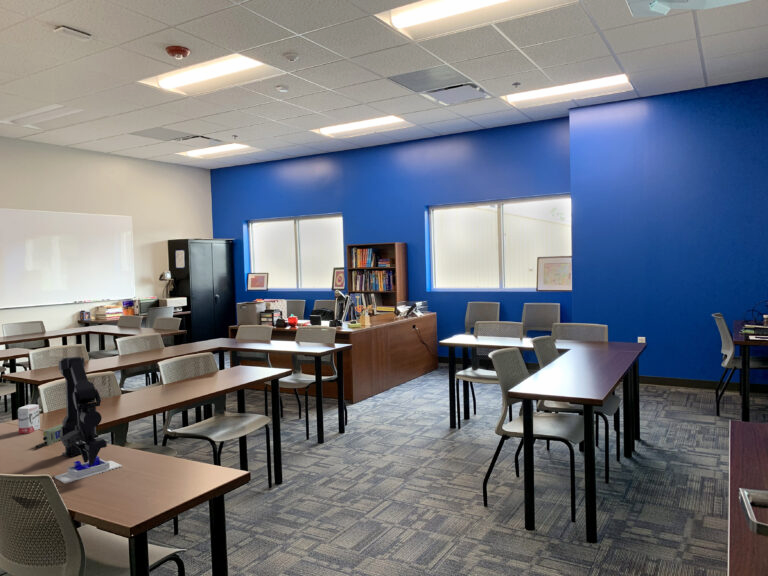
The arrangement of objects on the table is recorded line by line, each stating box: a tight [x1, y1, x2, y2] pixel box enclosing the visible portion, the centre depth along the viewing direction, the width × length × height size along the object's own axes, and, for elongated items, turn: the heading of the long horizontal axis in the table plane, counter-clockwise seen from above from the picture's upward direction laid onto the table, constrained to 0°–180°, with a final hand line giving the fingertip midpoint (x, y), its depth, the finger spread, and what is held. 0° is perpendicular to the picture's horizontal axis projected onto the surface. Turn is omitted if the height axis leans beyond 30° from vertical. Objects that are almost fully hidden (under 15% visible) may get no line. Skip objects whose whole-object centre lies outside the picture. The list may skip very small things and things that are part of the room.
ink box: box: [17, 404, 41, 435], centre depth 264 cm, size 9×5×12 cm, turn 179°
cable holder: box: [73, 455, 101, 471], centre depth 207 cm, size 8×4×4 cm, turn 138°
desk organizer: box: [54, 458, 123, 484], centre depth 207 cm, size 9×20×3 cm, turn 140°
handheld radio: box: [34, 423, 62, 449], centre depth 248 cm, size 7×3×25 cm
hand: (88, 463), depth 207 cm, fingers open, 4 cm apart
